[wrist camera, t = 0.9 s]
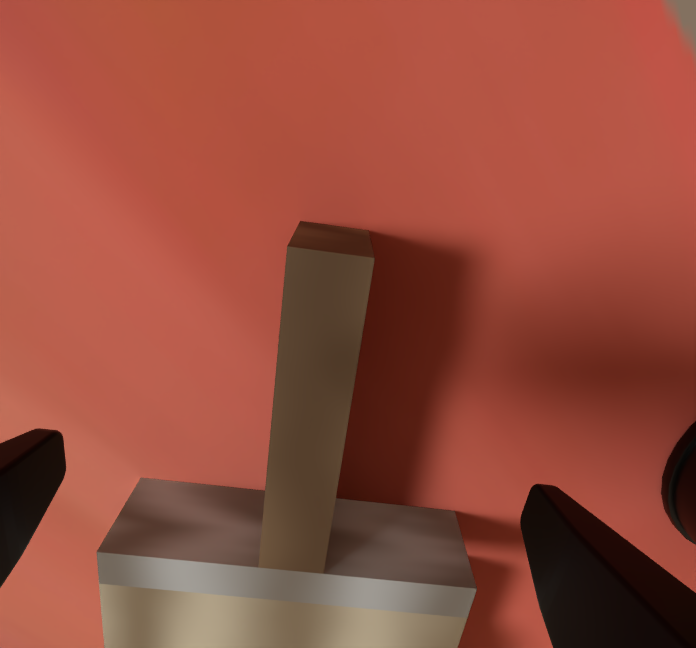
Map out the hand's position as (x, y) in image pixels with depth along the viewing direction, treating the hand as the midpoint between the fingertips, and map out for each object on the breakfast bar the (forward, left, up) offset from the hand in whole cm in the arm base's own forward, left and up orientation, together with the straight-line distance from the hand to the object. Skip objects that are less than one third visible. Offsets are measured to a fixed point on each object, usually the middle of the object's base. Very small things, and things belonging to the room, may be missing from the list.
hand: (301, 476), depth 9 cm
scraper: (0, -3, -9) cm, 10 cm away
